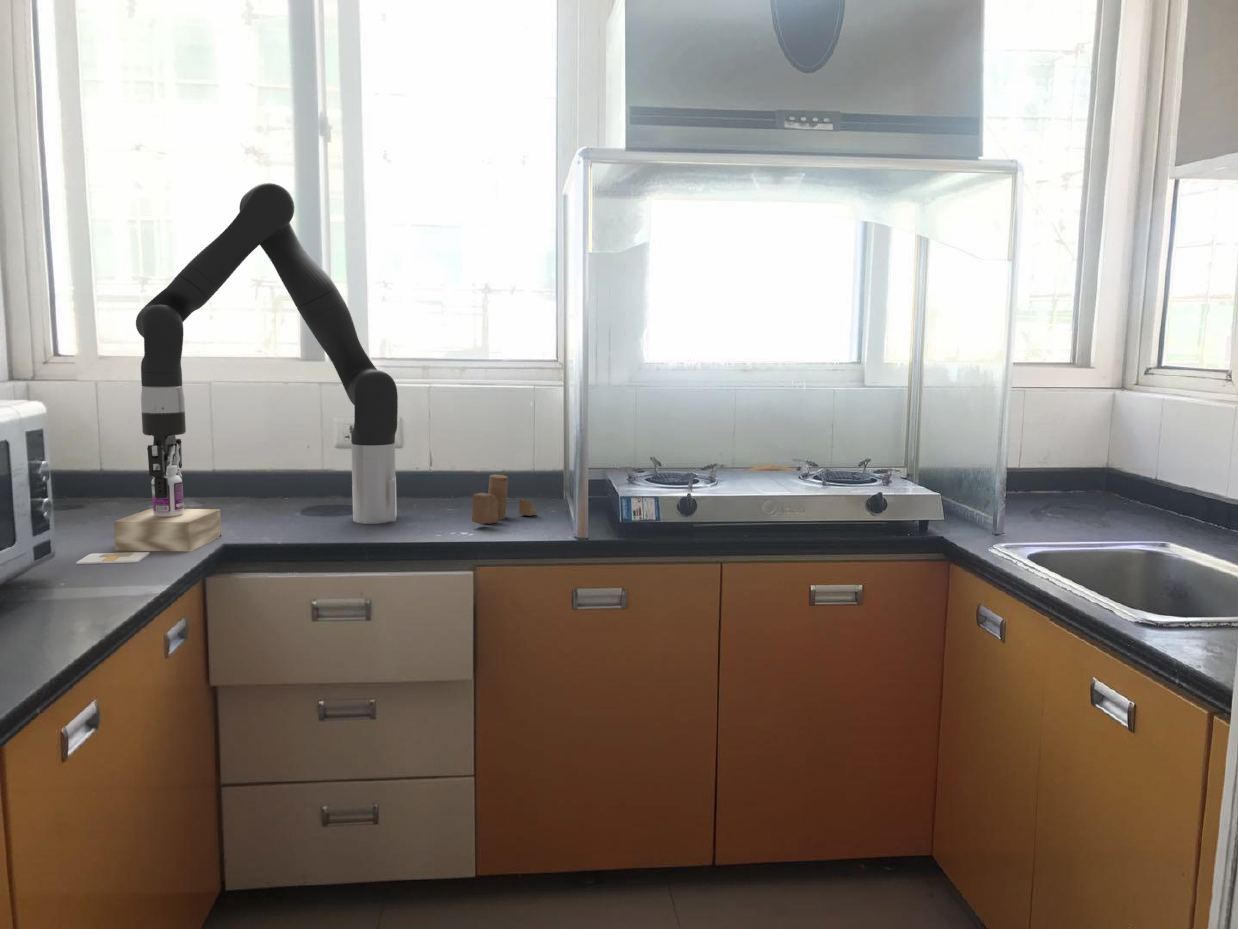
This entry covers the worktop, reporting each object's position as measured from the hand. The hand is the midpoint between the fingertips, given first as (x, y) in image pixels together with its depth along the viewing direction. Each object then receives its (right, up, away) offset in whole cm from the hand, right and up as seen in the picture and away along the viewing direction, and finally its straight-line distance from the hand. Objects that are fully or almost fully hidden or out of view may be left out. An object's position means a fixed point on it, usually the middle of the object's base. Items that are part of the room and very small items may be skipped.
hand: (167, 494), depth 179 cm
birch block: (0, -10, +1) cm, 10 cm away
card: (-3, -11, -13) cm, 17 cm away
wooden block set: (+61, -7, +25) cm, 67 cm away
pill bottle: (0, -4, +1) cm, 4 cm away
